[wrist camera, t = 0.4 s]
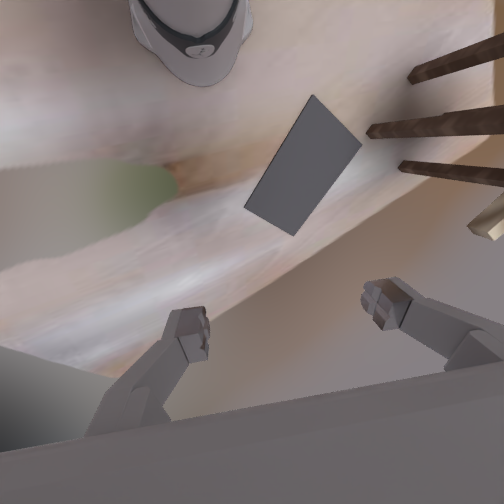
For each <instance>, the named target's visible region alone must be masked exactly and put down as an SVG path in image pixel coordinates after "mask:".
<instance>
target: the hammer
mask: <svg viewBox="0 0 504 504" xmlns="http://www.w3.org/2000/svg"><path fill="white" fill-rule="evenodd" d="M467 227H468V228H469V229H470V230H471V232H472V233H473V234H476V235H478V236H482V237H484V238H487V239H490V240H493V241H495V240H496V239H497V238H499V237H500V236H501V235H502V234H503V233H504V192H503V193H502V194H501V195H500V196H499V197H498V198H497V199H495V200H494V201H493V202H492V203H491V204H490V205H489V206H488V207H487V208H486V209H484V210H483V211H482V212H481V213H480V214H479V215H478V216H477V217H476V218H474V219H473V220H472V221H471V222H470V223H469V224H468V225H467Z"/></svg>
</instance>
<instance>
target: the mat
mask: <svg viewBox="0 0 504 504" xmlns="http://www.w3.org/2000/svg"><path fill="white" fill-rule="evenodd" d="M361 146H362V144H361V143H360V142H359V141H358V140H357V139H356V138H355V137H354V136H353V135H352V134H351V133H350V132H349V131H348V130H347V128H346V127H345V126H344V125H343V124H342V123H341V122H340V121H339V120H338V119H337V118H336V117H335V116H334V115H333V114H332V113H331V112H330V111H329V110H328V109H327V108H326V107H325V106H324V105H323V104H322V103H321V102H320V101H319V100H318V99H317V98H316V97H315V96H314V95H312V96H311V97H310V99H309V101H308V102H307V104H306V106H305V107H304V109H303V111H302V112H301V114H300V116H299V117H298V119H297V120H296V122H295V124H294V125H293V127H292V129H291V130H290V132H289V134H288V135H287V137H286V139H285V140H284V142H283V144H282V145H281V147H280V149H279V150H278V152H277V154H276V155H275V157H274V158H273V160H272V162H271V163H270V165H269V167H268V168H267V170H266V172H265V173H264V175H263V177H262V178H261V180H260V182H259V183H258V185H257V187H256V188H255V190H254V192H253V193H252V195H251V197H250V198H249V200H248V201H247V203H246V205H245V206H244V208H246V209H247V210H249V211H251V212H253V213H254V214H256V215H258V216H259V217H261V218H263V219H265V220H266V221H268V222H270V223H271V224H273V225H275V226H277V227H278V228H280V229H282V230H284V231H285V232H287V233H289V234H290V235H292V236H294V235H295V234H296V233H297V231H298V230H299V229H300V227H301V226H302V225H303V223H304V222H305V221H306V219H307V218H308V217H309V215H310V214H311V213H312V211H313V210H314V209H315V207H316V206H317V205H318V203H319V202H320V201H321V199H322V198H323V197H324V195H325V194H326V193H327V191H328V190H329V189H330V187H331V186H332V185H333V184H334V182H335V181H336V180H337V178H338V177H339V176H340V174H341V173H342V172H343V170H344V169H345V168H346V166H347V165H348V164H349V162H350V161H351V160H352V158H353V157H354V156H355V154H356V153H357V152H358V150H359V149H360V148H361Z"/></svg>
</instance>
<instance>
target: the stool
mask: <svg viewBox="0 0 504 504" xmlns="http://www.w3.org/2000/svg"><path fill="white" fill-rule="evenodd" d="M502 57H504V33H502V34H499V35H496V36H493V37H491V38H488V39H486V40H483V41H481V42H478V43H475V44H473V45H470V46H468V47H465V48H463V49H460V50H457V51H455V52H452V53H450V54H447V55H444V56H442V57H439V58H437V59H434V60H432V61H429V62H426V63H424V64H421V65H419V66H416V67H415V68H414V69H413V70H412V72H411V73H410V74H409V76H408V77H407V78H408V80H409V81H410V83H411V84H412V85H413V84H416V83H420V82H423V81H426V80H430V79H433V78H436V77H440V76H443V75H446V74H450V73H453V72H456V71H459V70H463V69H466V68H469V67H473V66H476V65H479V64H483V63H486V62H489V61H492V60H496V59H499V58H502ZM366 134H367V135H368V136H369V137H370V138H371V139H383V138H411V137H439V136H467V135H494V134H504V105H499V106H491V107H484V108H477V109H470V110H462V111H455V112H448V113H444V114H443V115H442V116H435V117H427V118H419V119H411V120H403V121H396V122H388V123H380V124H372V126H371V127H370V128H369V130H368V131H367V132H366ZM398 168H399V170H400V171H401V172H404V173H411V174H417V175H424V176H431V177H438V178H445V179H452V180H458V181H465V182H472V183H479V184H485V185H492V186H499V187H504V169H500V168H488V167H477V166H465V165H453V164H441V163H429V162H418V161H406V160H404V161H403V162H402V163H401V165H400V166H399V167H398Z"/></svg>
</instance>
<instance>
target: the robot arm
mask: <svg viewBox="0 0 504 504" xmlns="http://www.w3.org/2000/svg"><path fill="white" fill-rule="evenodd" d="M128 1H129V7H130V13H131V19H132V26H133V31H134V34H135V36H136V38H137V40H138V41H139V43H140V44H141V45H143V46H144V47H145V48H147V49H148V50H150V51H152V52H153V53H155V54H156V55H157V56H158V57H159V58H160V59H161V60H162V62H163V63H164V64H165V65H166V67H167V68H168V69H169V70H170V71H171V72H172V73H173V74H174V75H175V76H177V77H178V78H179V79H181V80H182V81H184V82H186V83H188V84H191V85H194V86H200V87H205V86H211V85H214V84H216V83H218V82H219V81H221V80H222V79H223V78H224V77H225V76H226V75H227V74H228V73H229V71H230V70H231V68H232V67H233V65H234V62H235V60H236V57H237V54H238V51H239V48H240V46H241V44H242V43H243V42H244V41H245V40H246V39H247V37H248V36H249V35H250V33H251V31H252V27H253V19H252V14H251V10H250V5H249V0H128ZM363 288H364V289H365V291H364V292H363V294H361V304H362V306H363V308H364V310H365V311H366V312H367V313H368V314H371V315H372V316H373V321H374V322H375V323H376V324H377V325H378V327H379V328H380V329H381V330H382V331H385V330H392V329H399V328H400V330H401V331H403V332H405V333H406V334H408V335H409V336H411V337H413V338H414V339H416V340H418V341H419V342H421V343H423V344H424V345H426V346H427V347H429V348H431V349H432V350H434V351H436V352H437V353H439V354H440V355H442V356H444V357H445V358H447V359H449V360H448V361H447V363H446V364H445V366H444V370H445V371H446V372H440V373H435V374H429V375H424V376H418V377H413V378H407V379H402V380H396V381H391V382H385V383H380V384H374V385H369V386H364V387H358V388H352V389H347V390H341V391H336V392H331V393H325V394H320V395H314V396H308V397H303V398H298V399H293V400H287V401H281V402H276V403H271V404H265V405H259V406H254V407H248V408H243V409H237V410H232V411H227V412H221V413H216V414H210V415H205V416H199V417H194V418H188V419H183V420H178V421H173V422H171V419H170V417H169V416H168V414H167V413H166V411H165V410H164V408H163V407H162V406H163V404H164V403H165V401H166V400H167V398H168V396H169V395H170V394H171V392H172V390H173V389H174V387H175V386H176V384H177V382H178V381H179V379H180V378H181V376H182V375H183V373H184V372H185V370H186V369H187V367H188V365H189V363H194V362H199V361H204V360H208V351H209V345H208V342H207V340H208V339H209V338H210V325H209V319H208V318H207V317H206V309H205V307H204V306H199V307H191V308H183V309H177V310H172V311H171V312H170V315H169V318H168V320H167V323H166V326H165V329H164V332H163V335H162V338H161V340H159V341H157V342H156V343H155V344H154V345H153V346H152V347H151V348H150V349H149V350H148V351H147V352H146V353H145V354H144V355H143V356H142V357H140V358H139V359H138V360H137V361H136V362H135V363H134V364H133V365H132V366H131V367H130V368H129V369H128V370H127V371H126V372H125V373H124V374H123V375H122V376H121V377H120V378H119V379H118V380H117V381H116V382H115V383H114V385H112V386H111V387H110V388H109V389H108V390H107V391H106V392H105V394H104V397H103V398H102V401H101V403H100V405H99V407H98V409H97V411H96V413H95V415H94V417H93V419H92V421H91V423H90V425H89V427H88V429H87V431H86V433H85V435H84V437H83V438H79V439H74V440H68V441H63V442H57V443H52V444H46V445H41V446H35V447H30V448H24V449H19V450H13V451H8V452H3V453H0V504H504V325H502V324H500V323H497V322H494V321H491V320H489V319H486V318H483V317H480V316H478V315H475V314H472V313H469V312H467V311H464V310H461V309H458V308H456V307H453V306H450V305H447V304H444V303H442V302H439V301H436V300H434V299H431V298H425V297H424V296H422V295H421V294H420V293H418V292H417V291H416V290H414V289H413V288H412V287H410V286H409V285H408V284H407V283H405V282H404V281H402V280H401V279H400V278H397V277H391V278H386V279H379V280H373V281H367V282H366V283H365V284H364V287H363Z"/></svg>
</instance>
